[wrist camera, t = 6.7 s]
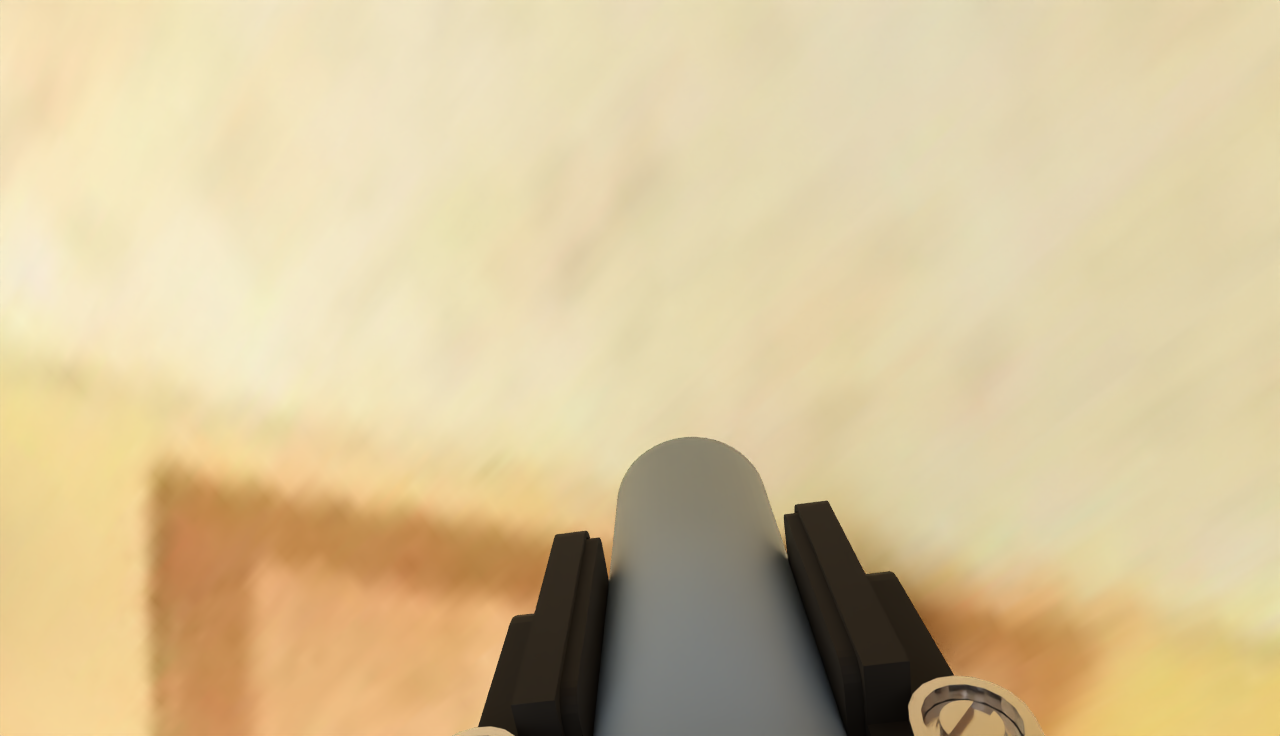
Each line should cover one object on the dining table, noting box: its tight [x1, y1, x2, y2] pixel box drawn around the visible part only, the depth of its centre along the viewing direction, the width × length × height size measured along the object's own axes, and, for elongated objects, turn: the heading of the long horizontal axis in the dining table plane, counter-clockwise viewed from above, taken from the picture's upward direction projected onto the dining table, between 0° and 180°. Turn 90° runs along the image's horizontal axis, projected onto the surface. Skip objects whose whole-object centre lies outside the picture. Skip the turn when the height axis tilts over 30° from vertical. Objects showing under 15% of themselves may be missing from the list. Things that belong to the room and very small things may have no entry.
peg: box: [593, 437, 847, 736], centre depth 10 cm, size 3×3×10 cm
